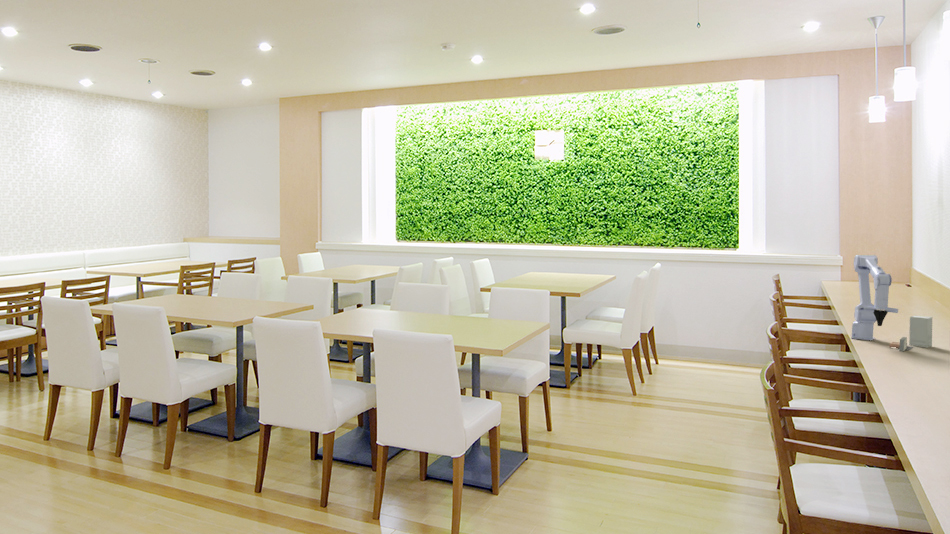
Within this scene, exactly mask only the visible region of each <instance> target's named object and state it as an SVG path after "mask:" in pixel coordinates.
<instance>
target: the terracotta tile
mask: <svg viewBox="0 0 950 534" xmlns="http://www.w3.org/2000/svg"><path fill="white" fill-rule="evenodd" d="M890 347H896V348H900V341H898V342H897V341H891V342H890V343H889V348H890Z"/></svg>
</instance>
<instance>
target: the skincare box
mask: <svg viewBox="0 0 950 534" xmlns="http://www.w3.org/2000/svg"><path fill="white" fill-rule="evenodd" d="M908 342H909V343H908V344H909V346H912V345H913V346H912V347H920V348H927V349H928V348H931V346H933V317H932V316H925V315H924V316H923V315H912V316H909V341H908Z"/></svg>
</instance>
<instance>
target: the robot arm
mask: <svg viewBox="0 0 950 534" xmlns="http://www.w3.org/2000/svg"><path fill="white" fill-rule="evenodd" d="M853 258H854V259H853V269H854V272H856V273H857V277H858V278H857V279H858V288H859V289H858V290H859V300H860V302H859V304H857V305H856V306H855V307H854V317H853V318H854V320H853V323H852V325H851V337H850V339H856V340H864V341H869V340H870V341H871V340H872V341H874V340H875V339H876V337H874V324H876V323H877V326H878V327H881V326H883V323H884V320H885V318H886V316H887V315H888V313H895V314H898V313H899V308H895V307H894V308H893V307H889V293H890V291H889V289H890V286H891V285H892V283H893V282H892V280H893V279H892V276H891V273H886V271H884V269H883V268H882V266H880V265H878V262H879V261H878V256H877V255H876V254H873V255H869V254H868V255H866V254H863V255H862V254H856V255H854V257H853ZM870 275H871V277H872V278H873V286H874V287H873V288H874V304H873V303H872V299H871V287H870ZM873 339H874V340H873ZM872 341H871V342H872Z"/></svg>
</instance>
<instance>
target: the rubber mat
mask: <svg viewBox="0 0 950 534" xmlns="http://www.w3.org/2000/svg"><path fill="white" fill-rule="evenodd" d="M913 348H914V346H910V345H909V346H908V345H907V347H906V350H905V351H910V350H912V349H913ZM899 349H900V348H898V349H897V350H899Z"/></svg>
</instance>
